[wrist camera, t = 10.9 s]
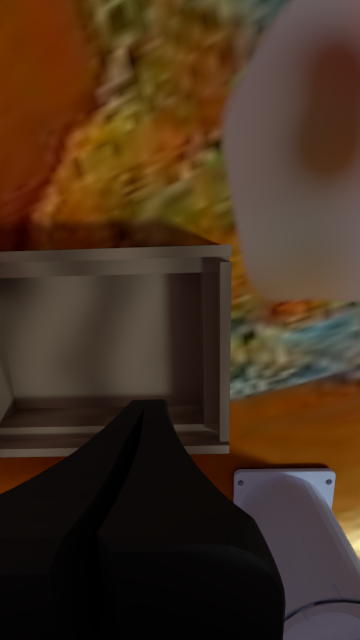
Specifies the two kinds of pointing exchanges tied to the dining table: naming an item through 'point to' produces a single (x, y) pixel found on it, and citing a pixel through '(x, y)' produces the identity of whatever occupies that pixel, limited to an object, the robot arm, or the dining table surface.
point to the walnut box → (113, 344)
